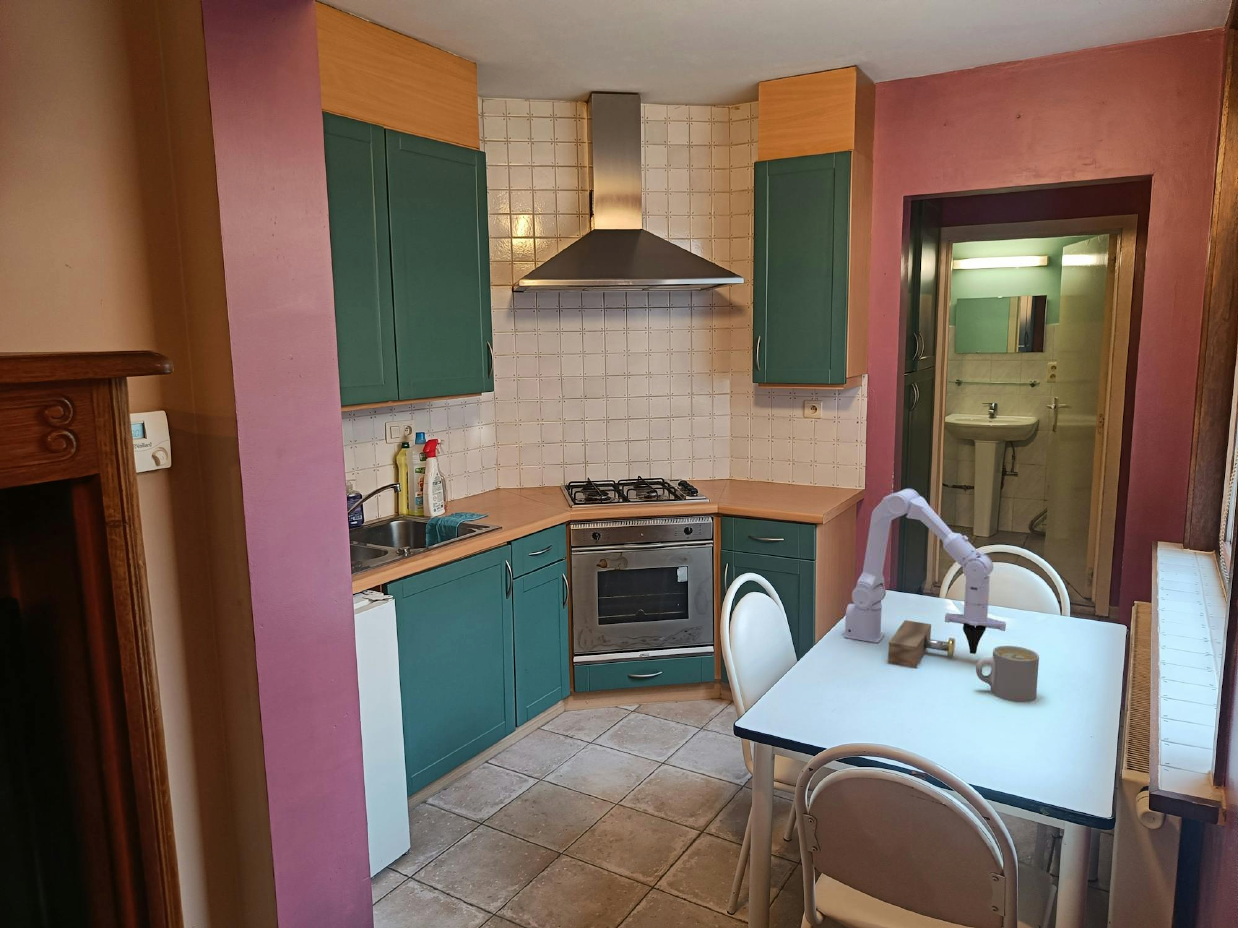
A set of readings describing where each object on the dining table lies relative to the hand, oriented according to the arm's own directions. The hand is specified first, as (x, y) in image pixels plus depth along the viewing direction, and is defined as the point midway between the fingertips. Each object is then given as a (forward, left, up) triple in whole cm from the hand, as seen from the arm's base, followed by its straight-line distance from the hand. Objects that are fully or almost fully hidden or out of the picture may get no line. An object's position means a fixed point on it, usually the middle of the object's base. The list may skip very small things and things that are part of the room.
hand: (973, 652), depth 226 cm
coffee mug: (+9, -17, -3) cm, 20 cm away
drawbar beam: (-16, -2, -2) cm, 16 cm away
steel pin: (-9, 0, -2) cm, 10 cm away
